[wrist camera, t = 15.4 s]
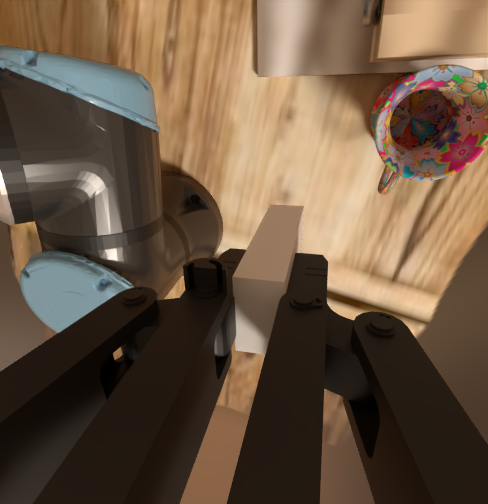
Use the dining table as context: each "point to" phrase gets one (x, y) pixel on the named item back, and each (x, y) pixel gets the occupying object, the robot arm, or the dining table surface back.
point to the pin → (370, 12)
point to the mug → (430, 123)
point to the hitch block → (369, 36)
